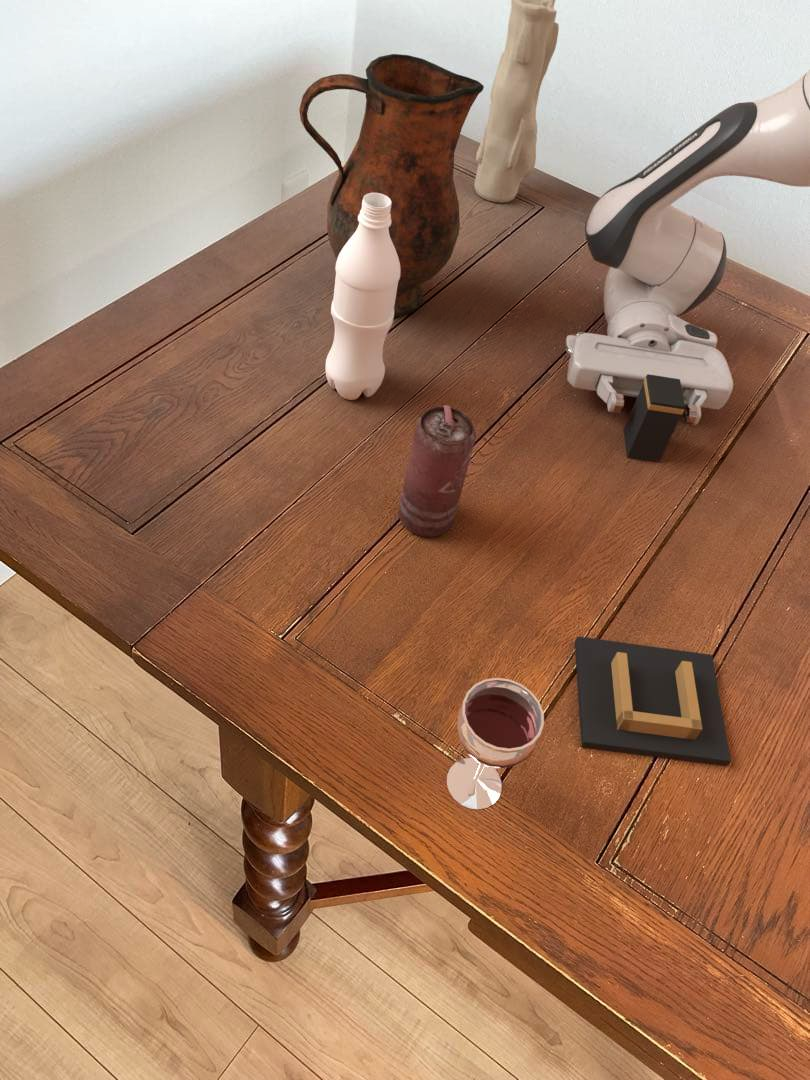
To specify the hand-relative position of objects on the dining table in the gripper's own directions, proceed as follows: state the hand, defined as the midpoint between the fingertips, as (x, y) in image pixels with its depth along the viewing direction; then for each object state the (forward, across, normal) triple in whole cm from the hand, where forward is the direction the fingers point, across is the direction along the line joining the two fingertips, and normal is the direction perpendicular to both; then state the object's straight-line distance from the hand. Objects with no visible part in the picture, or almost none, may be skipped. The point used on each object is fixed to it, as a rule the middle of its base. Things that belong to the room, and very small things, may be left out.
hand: (654, 414), depth 115 cm
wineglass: (+48, -20, +5) cm, 53 cm away
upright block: (0, 0, +5) cm, 5 cm away
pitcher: (-22, -36, +5) cm, 42 cm away
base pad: (+37, -3, +5) cm, 38 cm away
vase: (-55, -18, +5) cm, 58 cm away
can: (+18, -26, +5) cm, 32 cm away
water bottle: (-2, -36, +5) cm, 37 cm away
